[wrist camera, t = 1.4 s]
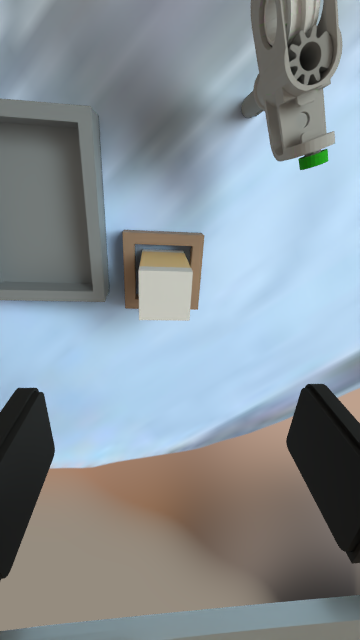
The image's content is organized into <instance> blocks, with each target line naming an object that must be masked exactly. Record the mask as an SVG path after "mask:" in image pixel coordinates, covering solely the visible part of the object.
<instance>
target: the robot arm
mask: <svg viewBox="0 0 360 640" xmlns="http://www.w3.org/2000/svg"><path fill="white" fill-rule="evenodd" d="M286 442H287V447H288V450H289V452H290V454H291V456H292V457H293V459H294V461H295V463H296V465H297V467H298V469H299V471H300V473H301V474H302V477H303V479H304V481H305V482H306V484H307V486H308V488H309V490H310V492H311V494H312V496H313V498H314V500H315V502H316V503H317V506H318V507H319V509H320V511H321V513H322V515H323V517H324V519H325V521H326V523H327V525H328V527H329V529H330V531H331V533H332V534H333V536H334V538H335V540H336V542H337V544H338V546H339V547H340V548H341V550H343V551H346V553H347V555H348V557H349V559H350V561H351V562H352V563H360V423H359V422H358V421H357V420H356V419H355V418H354V417H353V415H352V414H351V413H350V412H349V411H348V410H347V409H346V407H344V405H343V404H342V403H341V402H340V401H339V400H338V398H337V397H336V396H335V395H334V394H333V393H332V392H331V391H330V389H329V388H328V387H327V386H326V385H324V384H307V385H306V387H305V388H303V389H302V390H301V393H300V396H299V400H298V403H297V406H296V409H295V413H294V416H293V419H292V423H291V426H290V429H289V433H288V436H287V441H286ZM54 451H55V447H54V441H53V437H52V432H51V427H50V422H49V417H48V412H47V407H46V402H45V397H44V394H43V392H39V391H38V389H37V388H18V389H17V390H16V391H15V392H14V393H13V395H12V396H11V398H10V399H9V401H8V402H7V403H6V405H5V406H4V408H3V409H2V411H1V412H0V580H1V579H2V578H6V576H8V574H9V572H10V570H11V568H12V565H13V562H14V560H15V557H16V554H17V552H18V549H19V547H20V544H21V541H22V538H23V536H24V533H25V531H26V528H27V526H28V523H29V520H30V518H31V515H32V512H33V510H34V507H35V504H36V502H37V499H38V497H39V494H40V491H41V489H42V486H43V483H44V481H45V478H46V476H47V473H48V470H49V468H50V465H51V462H52V460H53V457H54ZM0 640H360V595H356V596H346V597H334V598H323V599H312V600H301V601H289V602H279V603H268V604H258V605H247V606H236V607H226V608H216V609H205V610H195V611H185V612H174V613H164V614H154V615H144V616H135V617H125V618H115V619H105V620H96V621H86V622H77V623H66V624H56V625H47V626H39V627H31V628H23V629H16V630H7V631H0Z"/></svg>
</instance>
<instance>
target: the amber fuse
mask: <svg viewBox="0 0 360 640" xmlns="http://www.w3.org/2000/svg"><path fill="white" fill-rule="evenodd" d="M192 278H193V271H192V269H191V267H190V265H189V262H188V260H187V258H186V256H185V254H184V252H183V250H160V249H143V251H142V256H141V261H140V266H139V320H189V318H190V305H191V291H192Z"/></svg>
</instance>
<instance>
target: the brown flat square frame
mask: <svg viewBox="0 0 360 640" xmlns="http://www.w3.org/2000/svg"><path fill="white" fill-rule="evenodd" d="M135 244H151V245H177V246H191V248H190V263H189V265H190V267H191V269H192V271H193V278H192V291H191V305H190V309H198V302H199V290H200V279H201V267H202V256H203V244H204V235H203V234H202V233H188V232H164V231H141V230H124V231H123V258H124V285H125V308H132V309H139V294H136V264H135Z"/></svg>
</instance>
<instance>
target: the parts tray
mask: <svg viewBox="0 0 360 640" xmlns="http://www.w3.org/2000/svg"><path fill="white" fill-rule="evenodd" d="M109 291H110V290H109V275H108V259H107V243H106V227H105V211H104V195H103V179H102V163H101V147H100V131H99V116H98V115H97V114H96V112H95V111H94V110H93V109H92V107H91V106H81V105H70V104H58V103H46V102H35V101H23V100H11V99H0V300H25V301H85V302H105V300H106V298H107V296H108V294H109Z"/></svg>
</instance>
